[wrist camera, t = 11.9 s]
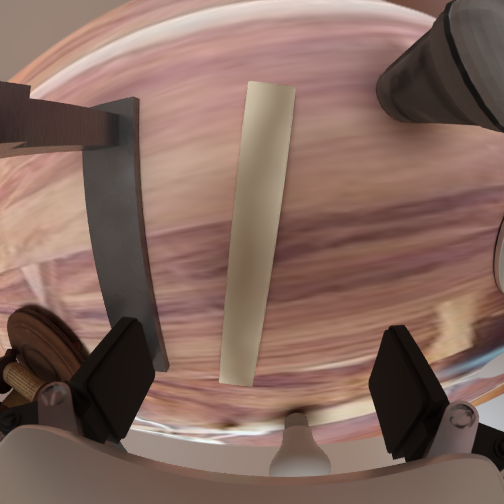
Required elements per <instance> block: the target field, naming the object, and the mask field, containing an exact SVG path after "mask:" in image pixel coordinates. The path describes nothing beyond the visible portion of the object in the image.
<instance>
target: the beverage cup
mask: <svg viewBox="0 0 504 504" xmlns="http://www.w3.org/2000/svg"><path fill="white" fill-rule="evenodd" d="M376 92H377V97H378V100H379V102H380V104H381V106H382V108H383V109H384V110H385V111H386V113H387V114H388V115H390V116H391V117H392V118H394V119H395V120H398V121H401V122H411V123H441V124H462V125H475V126H481V127H483V128H487V129H490V130H494V131H497V132H502V133H504V0H453V1H451V2H449V3H447V5H446V7H445V10H444V11H443V12H442V13H441V14H440V15H439V17H438V18H437V19H436V21H435V22H434V23H433V26H432V28H431V29H430V30H429V31H428V32H427V33H425V34H424V35H423V36H422V37H421V38H420V39H419V40H418V41H417V42H415V43H414V44H413V45H412V46H411V47H410V48H409V49H408V50H407V51H406V52H404V53H403V54H402V55H401V56H400V57H399V58H398V59H397V60H396V61H395V62H394V63H393V64H392V65H390V66H389V67H388V68H387V69H386V71H385V72H384V73H383V75H381V76H380V78H379V80H378V82H377V87H376Z"/></svg>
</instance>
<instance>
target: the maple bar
mask: <svg viewBox="0 0 504 504" xmlns="http://www.w3.org/2000/svg"><path fill="white" fill-rule="evenodd" d="M295 92H296V87H294V86H287V85H280V84H273V83H264V82H254V81H249V82H248V89H247V97H246V104H245V112H244V120H243V128H242V136H241V145H240V153H239V162H238V171H237V180H236V189H235V199H234V208H233V218H232V228H231V239H230V249H229V260H228V271H227V282H226V294H225V306H224V319H223V332H222V346H221V360H220V376H219V383H224V384H232V385H240V386H249V387H252V385H253V379H254V374H255V368H256V362H257V357H258V351H259V345H260V339H261V333H262V327H263V321H264V315H265V309H266V303H267V297H268V290H269V284H270V278H271V271H272V265H273V258H274V252H275V245H276V238H277V231H278V224H279V217H280V210H281V203H282V196H283V189H284V181H285V174H286V166H287V158H288V150H289V143H290V134H291V126H292V118H293V109H294V101H295Z"/></svg>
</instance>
